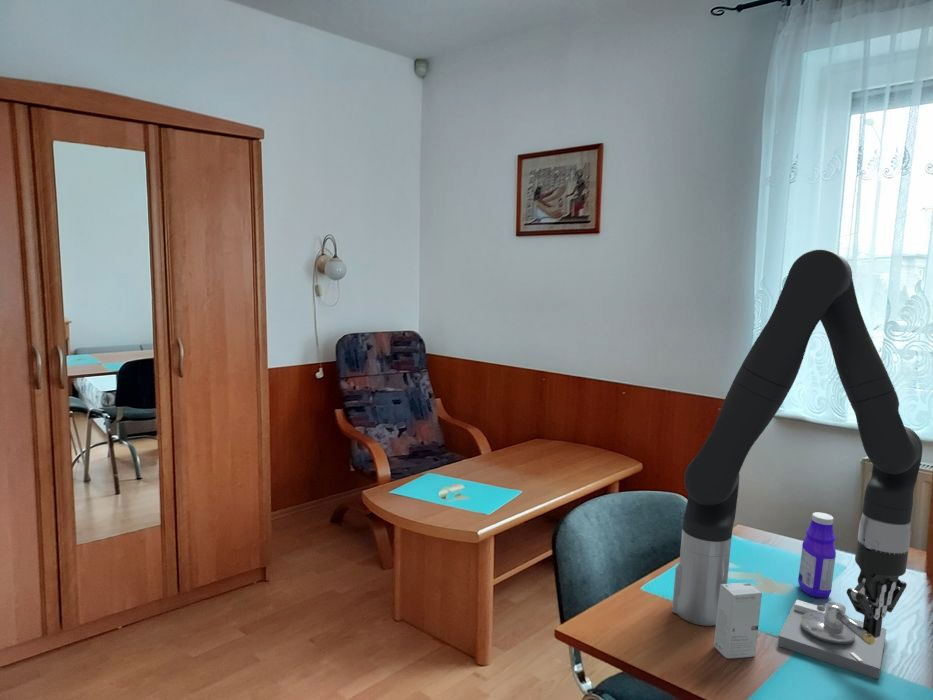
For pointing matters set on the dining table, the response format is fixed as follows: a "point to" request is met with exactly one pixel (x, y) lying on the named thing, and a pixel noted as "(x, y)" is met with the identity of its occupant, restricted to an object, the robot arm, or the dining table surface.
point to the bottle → (818, 557)
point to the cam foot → (834, 626)
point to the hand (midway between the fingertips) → (870, 635)
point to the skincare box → (737, 620)
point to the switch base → (846, 656)
